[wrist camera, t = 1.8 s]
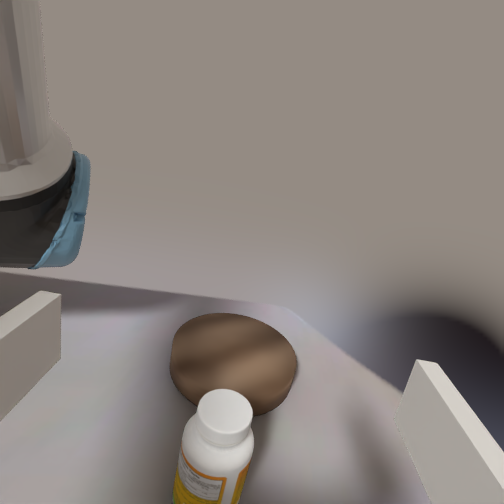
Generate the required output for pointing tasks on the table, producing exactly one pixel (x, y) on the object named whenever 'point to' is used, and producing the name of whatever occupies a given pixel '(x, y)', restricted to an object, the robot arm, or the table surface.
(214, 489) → the supplement bottle
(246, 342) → the walnut base
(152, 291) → the table surface
